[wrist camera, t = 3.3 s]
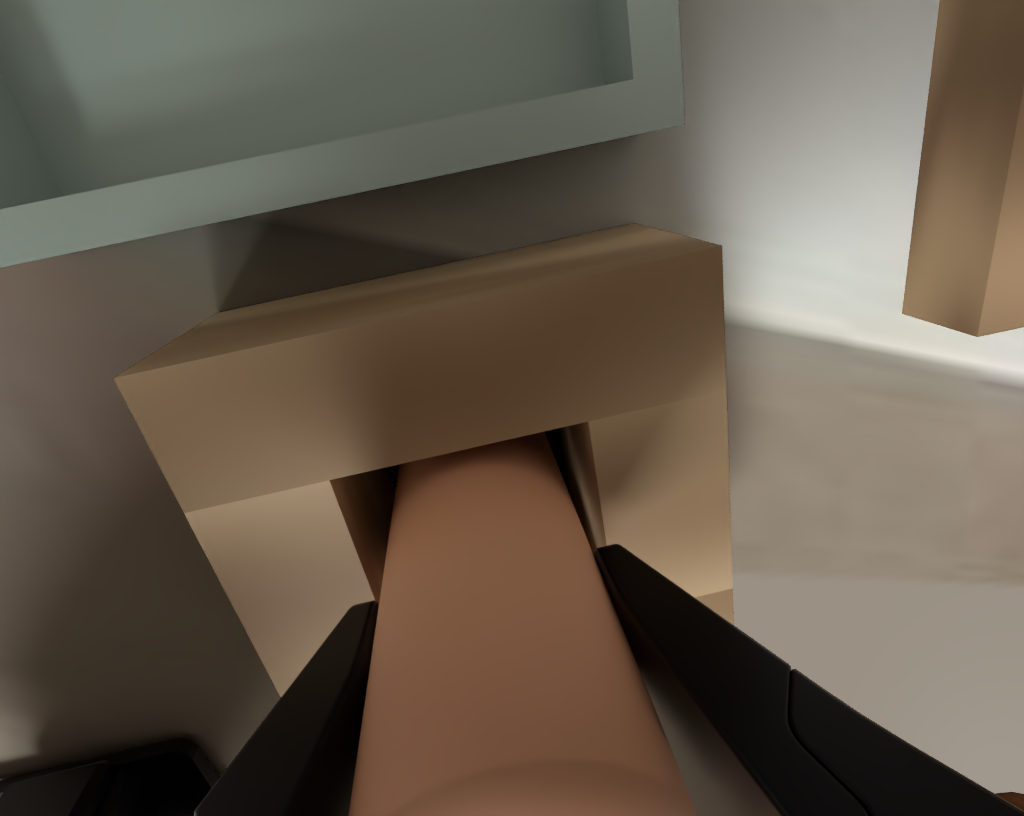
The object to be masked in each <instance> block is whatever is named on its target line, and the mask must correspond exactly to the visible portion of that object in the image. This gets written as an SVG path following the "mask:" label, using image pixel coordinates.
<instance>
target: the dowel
mask: <svg viewBox="0 0 1024 816" xmlns="http://www.w3.org/2000/svg"><path fill="white" fill-rule="evenodd" d="M348 816H698V815H697V813H696V810H695V808H694V805H693V803H692V800H691V798H690V795H689V793H688V790H687V788H686V785H685V783H684V780H683V778H682V775H681V773H680V770H679V768H678V765H677V763H676V760H675V758H674V755H673V753H672V750H671V748H670V745H669V743H668V740H667V738H666V735H665V733H664V730H663V728H662V725H661V723H660V720H659V718H658V715H657V713H656V710H655V708H654V705H653V702H652V700H651V697H650V695H649V692H648V690H647V687H646V685H645V682H644V680H643V677H642V675H641V672H640V670H639V667H638V665H637V662H636V660H635V657H634V655H633V652H632V650H631V647H630V645H629V642H628V640H627V637H626V635H625V632H624V630H623V628H622V625H621V623H620V620H619V618H618V615H617V613H616V610H615V608H614V605H613V603H612V600H611V598H610V595H609V593H608V590H607V588H606V585H605V583H604V580H603V578H602V575H601V573H600V570H599V568H598V565H597V563H596V560H595V558H594V555H593V552H592V550H591V547H590V545H589V542H588V540H587V537H586V535H585V532H584V530H583V527H582V525H581V522H580V520H579V517H578V515H577V512H576V510H575V507H574V505H573V502H572V500H571V497H570V495H569V492H568V490H567V487H566V485H565V482H564V480H563V477H562V475H561V472H560V470H559V467H558V465H557V462H556V460H555V457H554V455H553V452H552V450H551V447H550V445H549V442H548V440H547V437H546V435H545V432H540V433H535V434H531V435H526V436H522V437H518V438H513V439H509V440H504V441H500V442H496V443H491V444H487V445H482V446H478V447H474V448H469V449H465V450H460V451H456V452H452V453H447V454H443V455H438V456H434V457H430V458H425V459H421V460H416V461H412V462H407V463H403V464H399V469H398V476H397V483H396V490H395V497H394V504H393V511H392V518H391V525H390V532H389V539H388V545H387V552H386V559H385V566H384V573H383V580H382V587H381V594H380V601H379V608H378V615H377V622H376V629H375V635H374V642H373V649H372V656H371V663H370V670H369V677H368V684H367V691H366V698H365V705H364V712H363V718H362V725H361V732H360V739H359V746H358V753H357V760H356V767H355V774H354V781H353V788H352V795H351V802H350V808H349V815H348Z"/></svg>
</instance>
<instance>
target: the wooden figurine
mask: <svg viewBox="0 0 1024 816" xmlns="http://www.w3.org/2000/svg"><path fill="white" fill-rule="evenodd" d="M996 795H997V796H999V797H1001V798H1002V799H1004V800H1006V801H1008V802H1009V803H1011V804H1013V805H1014V806H1016V807H1018V808H1019V809H1021V810H1023V811H1024V794H1020V793H1015V792H1008V793H997V794H996Z"/></svg>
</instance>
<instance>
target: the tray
mask: <svg viewBox="0 0 1024 816" xmlns="http://www.w3.org/2000/svg"><path fill="white" fill-rule="evenodd" d="M681 125H685V114H684V95H683V76H682V58H681V39H680V21H679V2H678V0H0V268H2V267H7V266H11V265H16V264H21V263H26V262H30V261H35V260H40V259H45V258H50V257H54V256H59V255H64V254H69V253H74V252H78V251H83V250H88V249H93V248H97V247H102V246H107V245H112V244H117V243H121V242H126V241H131V240H136V239H140V238H145V237H150V236H155V235H160V234H164V233H169V232H174V231H179V230H183V229H188V228H193V227H198V226H203V225H207V224H212V223H217V222H222V221H226V220H231V219H236V218H241V217H246V216H250V215H255V214H260V213H265V212H270V211H274V210H279V209H284V208H289V207H293V206H298V205H303V204H308V203H313V202H317V201H322V200H327V199H332V198H336V197H341V196H346V195H351V194H356V193H360V192H365V191H370V190H375V189H379V188H384V187H389V186H394V185H399V184H403V183H408V182H413V181H418V180H422V179H427V178H432V177H437V176H442V175H446V174H451V173H456V172H461V171H465V170H470V169H475V168H480V167H485V166H489V165H494V164H499V163H504V162H509V161H513V160H518V159H523V158H528V157H532V156H537V155H542V154H547V153H552V152H556V151H561V150H566V149H571V148H575V147H580V146H585V145H590V144H595V143H599V142H604V141H609V140H614V139H618V138H623V137H628V136H633V135H638V134H642V133H647V132H652V131H657V130H661V129H666V128H671V127H676V126H681Z"/></svg>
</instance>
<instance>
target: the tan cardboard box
mask: <svg viewBox="0 0 1024 816" xmlns="http://www.w3.org/2000/svg"><path fill="white" fill-rule="evenodd" d="M902 314H905V315H908V316H912V317H915V318H918V319H921V320H924V321H928V322H931V323H934V324H937V325H941V326H944V327H947V328H950V329H953V330H957V331H960V332H963V333H966V334H970V335H973V336H976V337H979V336H984V335H989V334H994V333H998V332H1003V331H1008V330H1013V329H1017V328H1022V327H1024V0H940V3H939V11H938V20H937V28H936V36H935V45H934V53H933V61H932V69H931V78H930V86H929V94H928V103H927V111H926V119H925V128H924V136H923V144H922V152H921V161H920V169H919V177H918V186H917V194H916V202H915V210H914V219H913V227H912V235H911V244H910V252H909V260H908V269H907V277H906V285H905V293H904V302H903V310H902Z"/></svg>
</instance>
